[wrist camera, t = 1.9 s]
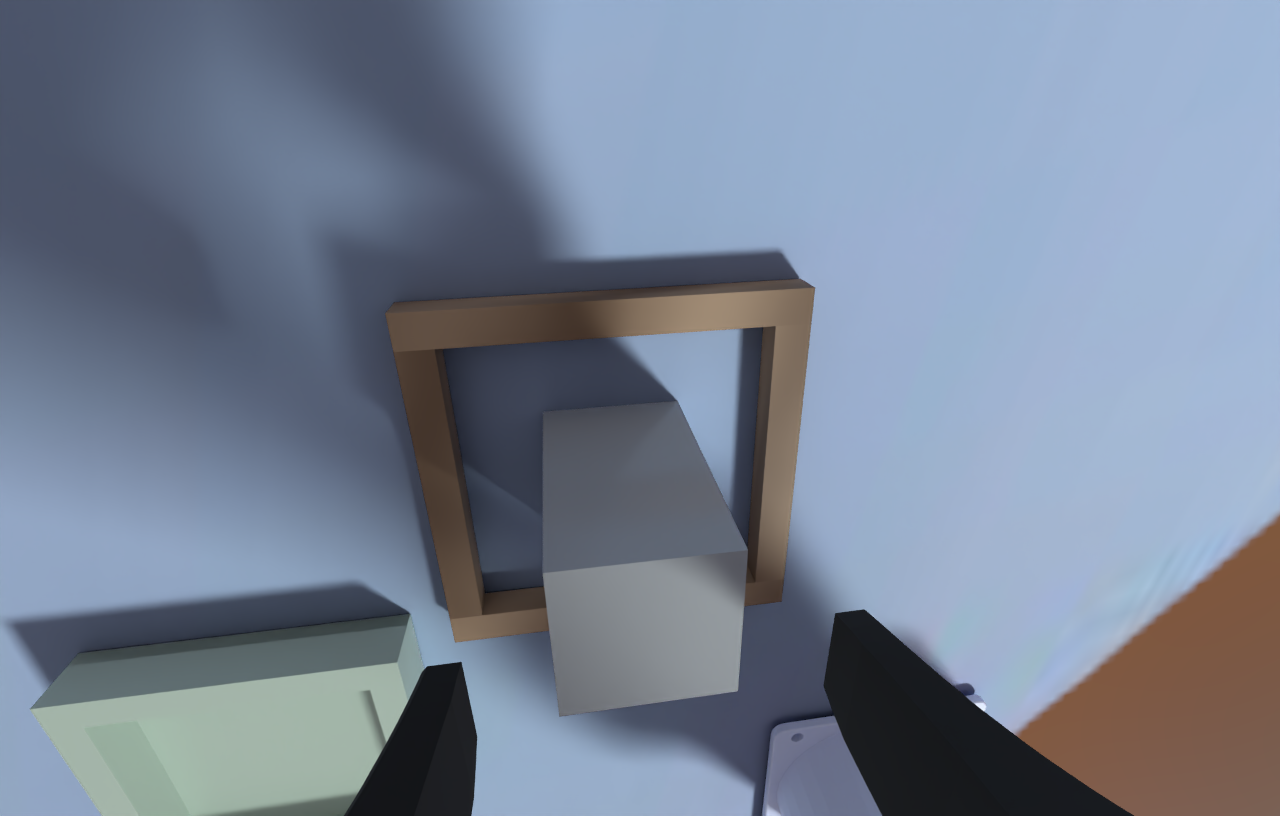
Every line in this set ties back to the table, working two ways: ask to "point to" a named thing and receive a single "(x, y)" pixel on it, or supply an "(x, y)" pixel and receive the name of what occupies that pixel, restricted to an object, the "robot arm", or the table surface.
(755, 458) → the walnut frame
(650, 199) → the table surface
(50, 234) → the table surface
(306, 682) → the sage tray
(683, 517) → the stone block
